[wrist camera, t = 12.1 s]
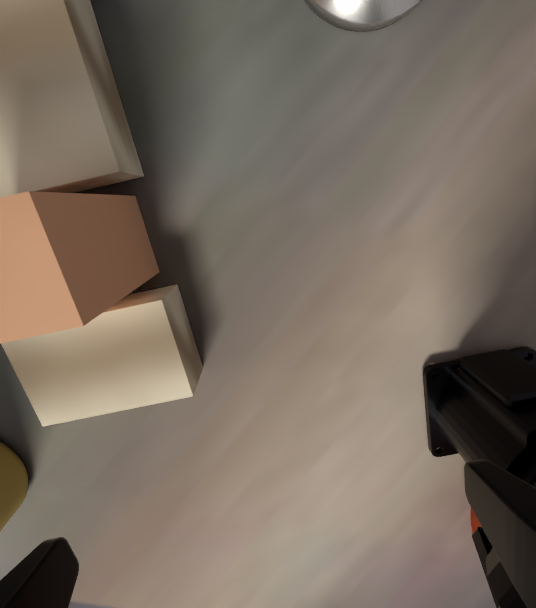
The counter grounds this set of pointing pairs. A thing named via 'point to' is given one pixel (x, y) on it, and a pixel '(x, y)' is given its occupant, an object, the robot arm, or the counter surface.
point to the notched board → (74, 178)
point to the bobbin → (362, 12)
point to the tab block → (68, 259)
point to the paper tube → (11, 483)
